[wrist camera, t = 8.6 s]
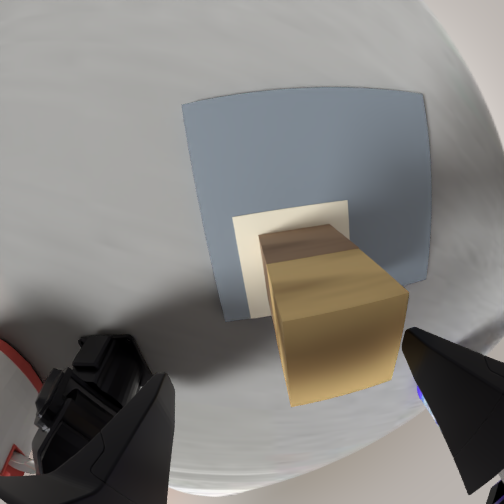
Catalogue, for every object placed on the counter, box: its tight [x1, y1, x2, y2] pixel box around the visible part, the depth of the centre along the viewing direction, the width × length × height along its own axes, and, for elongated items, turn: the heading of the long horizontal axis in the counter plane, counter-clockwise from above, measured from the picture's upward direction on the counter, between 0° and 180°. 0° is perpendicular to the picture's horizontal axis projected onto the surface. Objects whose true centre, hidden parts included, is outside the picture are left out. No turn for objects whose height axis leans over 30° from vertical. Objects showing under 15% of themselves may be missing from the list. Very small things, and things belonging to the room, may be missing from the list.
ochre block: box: [266, 248, 409, 407], centre depth 12 cm, size 5×5×5 cm
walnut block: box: [258, 224, 359, 333], centre depth 17 cm, size 5×5×5 cm
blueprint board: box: [182, 87, 432, 322], centre depth 18 cm, size 16×18×1 cm
